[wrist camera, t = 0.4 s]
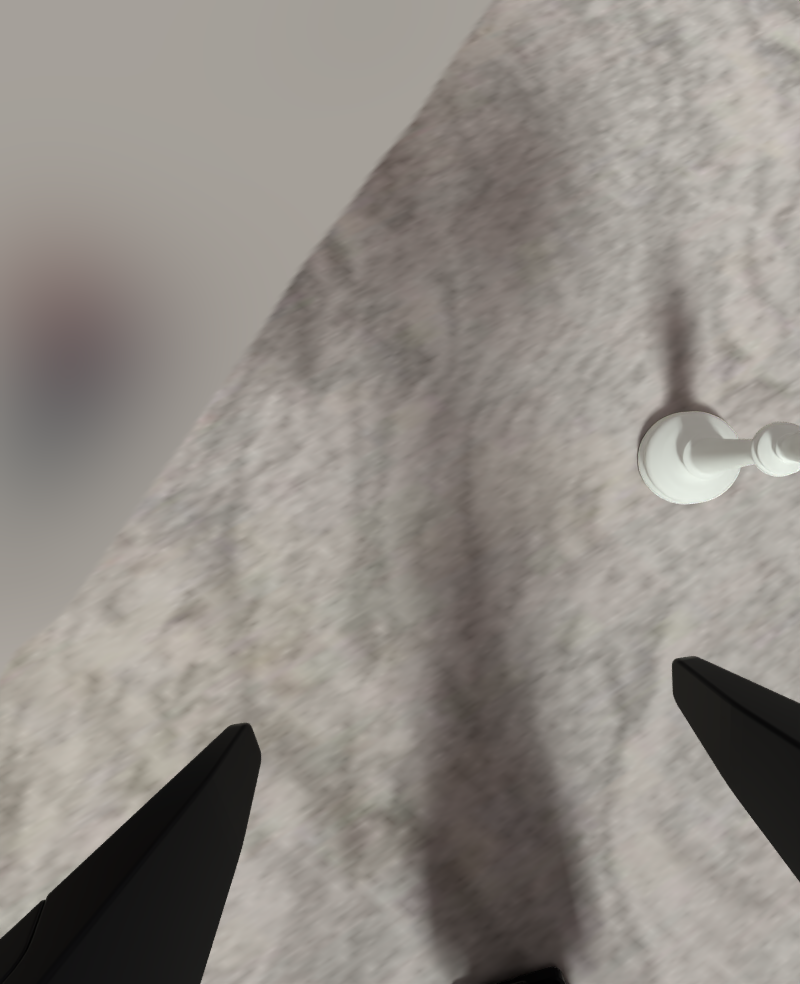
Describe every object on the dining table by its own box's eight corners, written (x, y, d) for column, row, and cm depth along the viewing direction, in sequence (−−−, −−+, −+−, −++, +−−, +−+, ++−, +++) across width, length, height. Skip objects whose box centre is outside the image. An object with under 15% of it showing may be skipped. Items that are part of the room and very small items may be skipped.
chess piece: (691, 393, 21) (940, 309, 11) (753, 463, 20) (1064, 445, 11) (617, 453, 21) (792, 427, 11) (678, 522, 21) (910, 559, 11)
